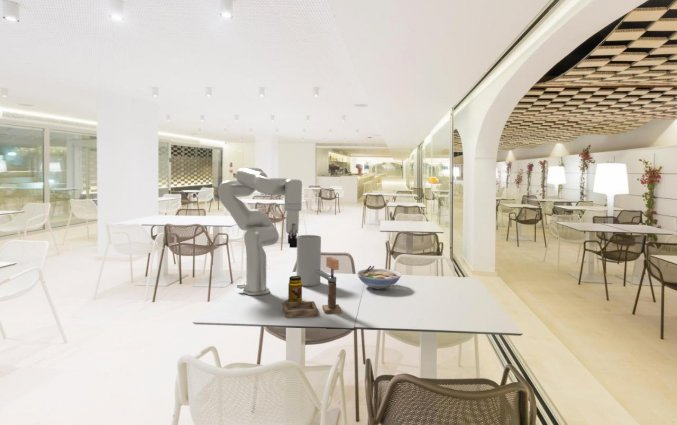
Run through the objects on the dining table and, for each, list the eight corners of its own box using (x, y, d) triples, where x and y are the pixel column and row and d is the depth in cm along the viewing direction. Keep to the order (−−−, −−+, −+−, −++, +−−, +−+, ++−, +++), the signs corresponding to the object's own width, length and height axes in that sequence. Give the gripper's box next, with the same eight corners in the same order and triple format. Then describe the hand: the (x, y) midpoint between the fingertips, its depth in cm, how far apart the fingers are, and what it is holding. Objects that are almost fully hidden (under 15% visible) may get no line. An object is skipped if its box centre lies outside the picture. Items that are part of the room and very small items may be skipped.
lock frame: (284, 317, 174) (285, 287, 173) (283, 308, 186) (283, 280, 185) (342, 314, 179) (343, 285, 178) (337, 305, 191) (337, 278, 190)
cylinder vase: (324, 282, 230) (325, 236, 228) (311, 288, 220) (311, 239, 217) (306, 279, 237) (306, 234, 235) (291, 284, 226) (292, 237, 224)
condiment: (299, 306, 190) (299, 279, 189) (281, 304, 192) (281, 277, 191) (305, 301, 197) (305, 275, 195) (288, 299, 199) (288, 274, 198)
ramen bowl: (395, 296, 208) (396, 279, 207) (350, 291, 215) (350, 275, 214) (404, 283, 231) (405, 268, 230) (363, 279, 238) (364, 265, 238)
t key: (312, 273, 198) (312, 251, 197) (319, 272, 199) (320, 251, 199) (332, 284, 179) (332, 260, 178) (340, 283, 180) (340, 260, 179)
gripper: (283, 205, 199) (282, 242, 201) (285, 209, 182) (285, 249, 184) (299, 205, 200) (298, 242, 202) (303, 209, 183) (302, 249, 185)
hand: (292, 245), depth 193 cm, fingers open, 9 cm apart
